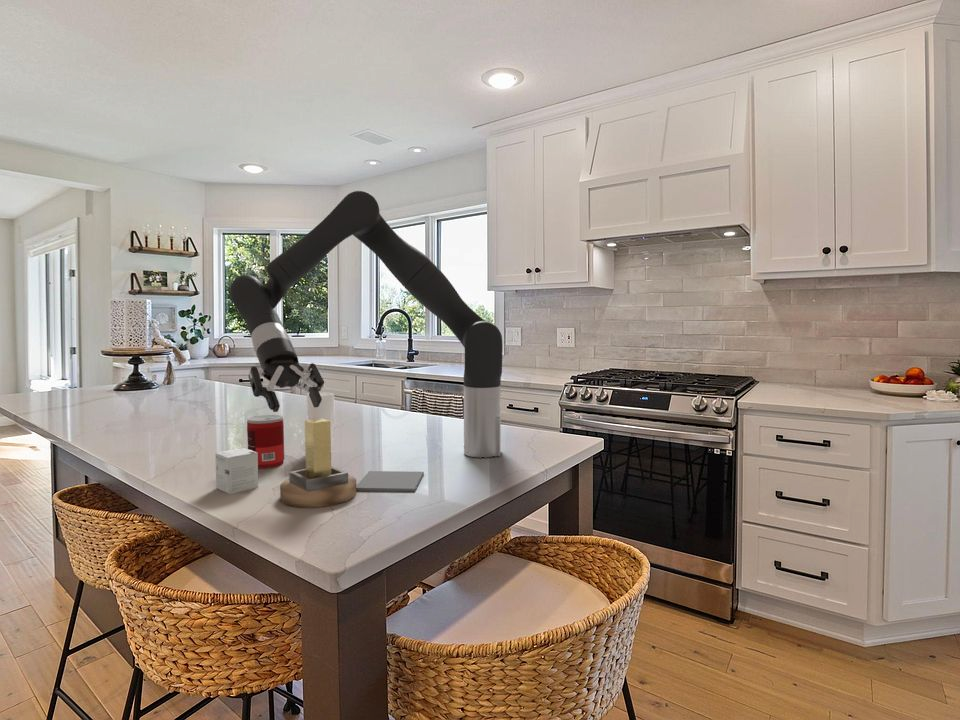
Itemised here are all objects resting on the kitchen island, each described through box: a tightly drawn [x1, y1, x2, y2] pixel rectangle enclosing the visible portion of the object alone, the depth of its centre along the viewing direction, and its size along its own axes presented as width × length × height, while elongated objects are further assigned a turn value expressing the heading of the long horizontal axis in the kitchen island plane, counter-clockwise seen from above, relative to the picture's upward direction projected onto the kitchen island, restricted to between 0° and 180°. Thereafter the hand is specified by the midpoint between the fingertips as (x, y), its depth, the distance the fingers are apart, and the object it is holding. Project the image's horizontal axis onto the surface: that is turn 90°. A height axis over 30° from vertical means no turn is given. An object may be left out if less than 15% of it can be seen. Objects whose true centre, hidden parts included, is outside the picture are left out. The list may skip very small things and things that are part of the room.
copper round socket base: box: [279, 465, 358, 509], centre depth 105 cm, size 14×14×4 cm
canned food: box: [246, 414, 285, 469], centre depth 127 cm, size 8×8×11 cm
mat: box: [356, 470, 425, 492], centre depth 113 cm, size 12×12×1 cm
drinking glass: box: [306, 391, 336, 452], centre depth 139 cm, size 7×7×15 cm
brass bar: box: [304, 418, 332, 479], centre depth 104 cm, size 4×4×12 cm
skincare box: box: [215, 447, 259, 495], centre depth 109 cm, size 6×6×7 cm
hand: (297, 407), depth 110 cm, fingers open, 8 cm apart
